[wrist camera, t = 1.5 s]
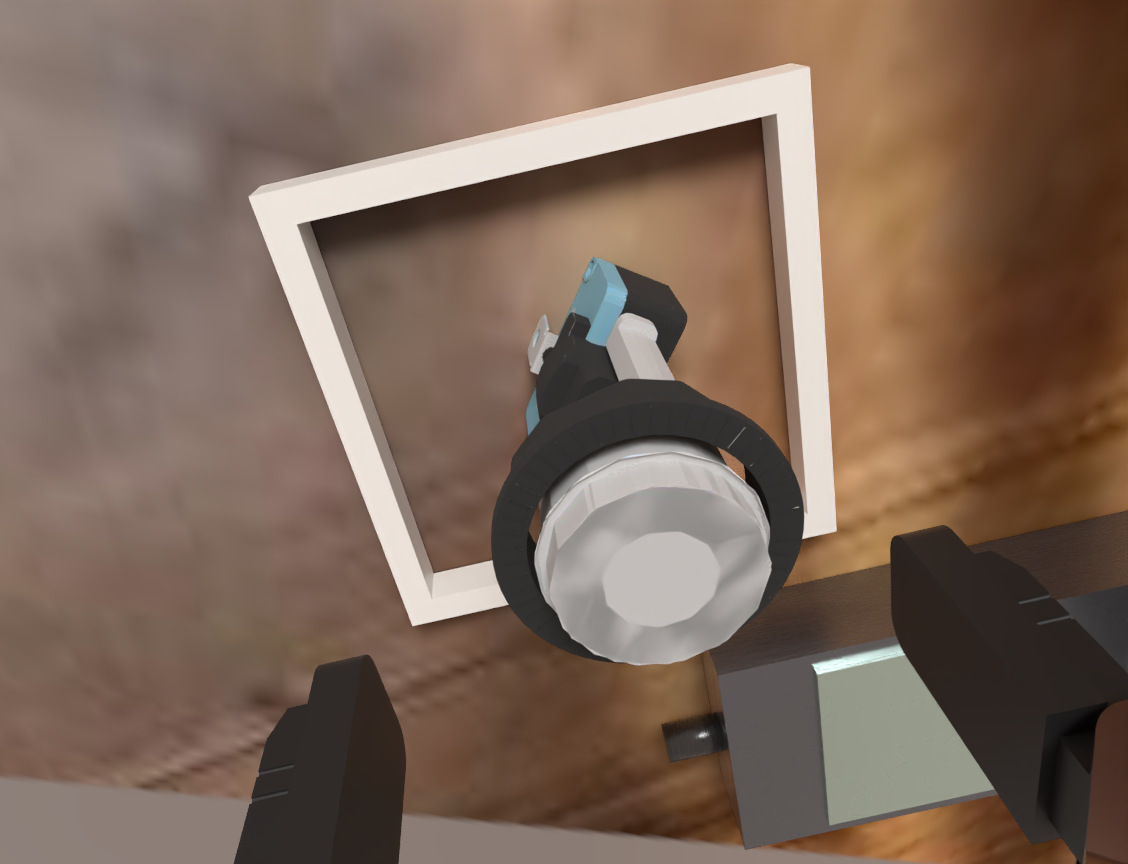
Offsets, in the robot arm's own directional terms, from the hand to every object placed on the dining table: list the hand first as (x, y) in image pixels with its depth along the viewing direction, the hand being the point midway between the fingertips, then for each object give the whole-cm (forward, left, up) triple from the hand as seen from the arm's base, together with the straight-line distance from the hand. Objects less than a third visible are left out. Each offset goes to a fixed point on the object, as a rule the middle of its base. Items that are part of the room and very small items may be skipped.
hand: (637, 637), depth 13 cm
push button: (0, 0, -11) cm, 11 cm away
